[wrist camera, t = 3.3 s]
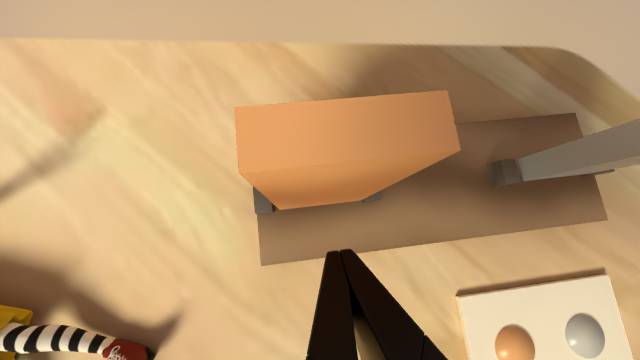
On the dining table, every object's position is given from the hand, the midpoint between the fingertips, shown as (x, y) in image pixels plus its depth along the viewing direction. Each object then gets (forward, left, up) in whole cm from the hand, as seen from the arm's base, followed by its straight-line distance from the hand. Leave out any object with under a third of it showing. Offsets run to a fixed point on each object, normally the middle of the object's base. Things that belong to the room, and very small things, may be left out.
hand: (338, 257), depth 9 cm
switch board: (+8, -3, -9) cm, 13 cm away
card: (+6, -15, -9) cm, 19 cm away
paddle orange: (+2, +2, -7) cm, 8 cm away
